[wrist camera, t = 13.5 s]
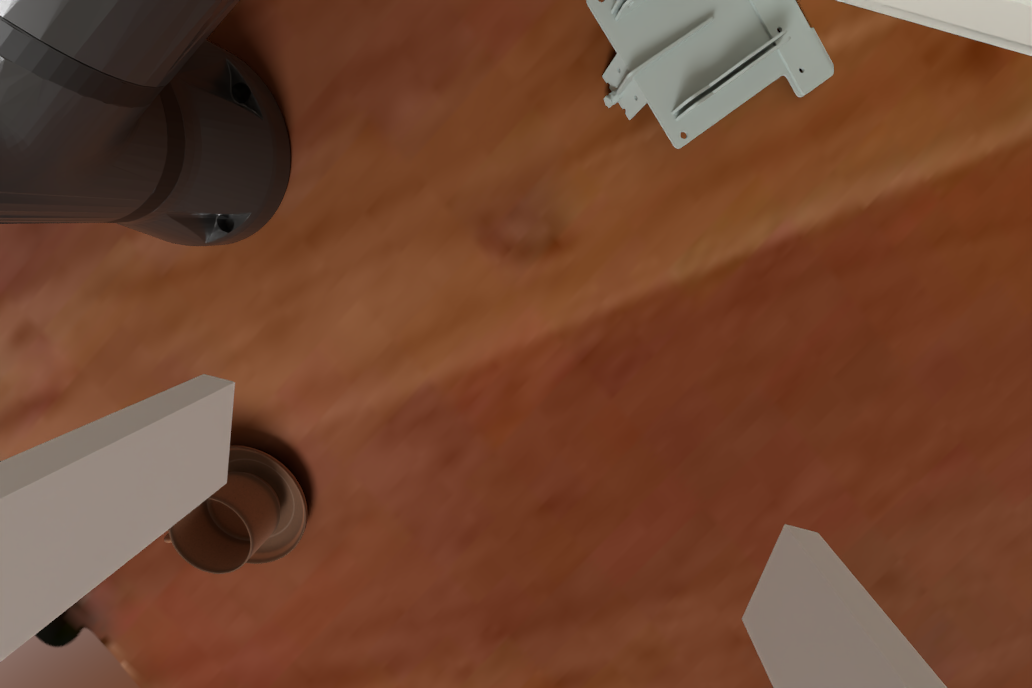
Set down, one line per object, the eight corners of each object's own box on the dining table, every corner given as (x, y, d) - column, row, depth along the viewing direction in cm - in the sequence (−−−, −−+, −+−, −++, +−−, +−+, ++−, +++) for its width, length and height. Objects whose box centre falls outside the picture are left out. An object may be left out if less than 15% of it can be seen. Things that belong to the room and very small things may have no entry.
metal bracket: (697, 175, 30) (563, -46, 27) (657, 196, 35) (543, 15, 33) (870, 50, 31) (753, -174, 28) (803, 90, 36) (702, -93, 34)
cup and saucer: (255, 570, 47) (211, 619, 41) (172, 480, 46) (114, 517, 40) (341, 511, 45) (307, 555, 39) (256, 413, 43) (207, 443, 37)
